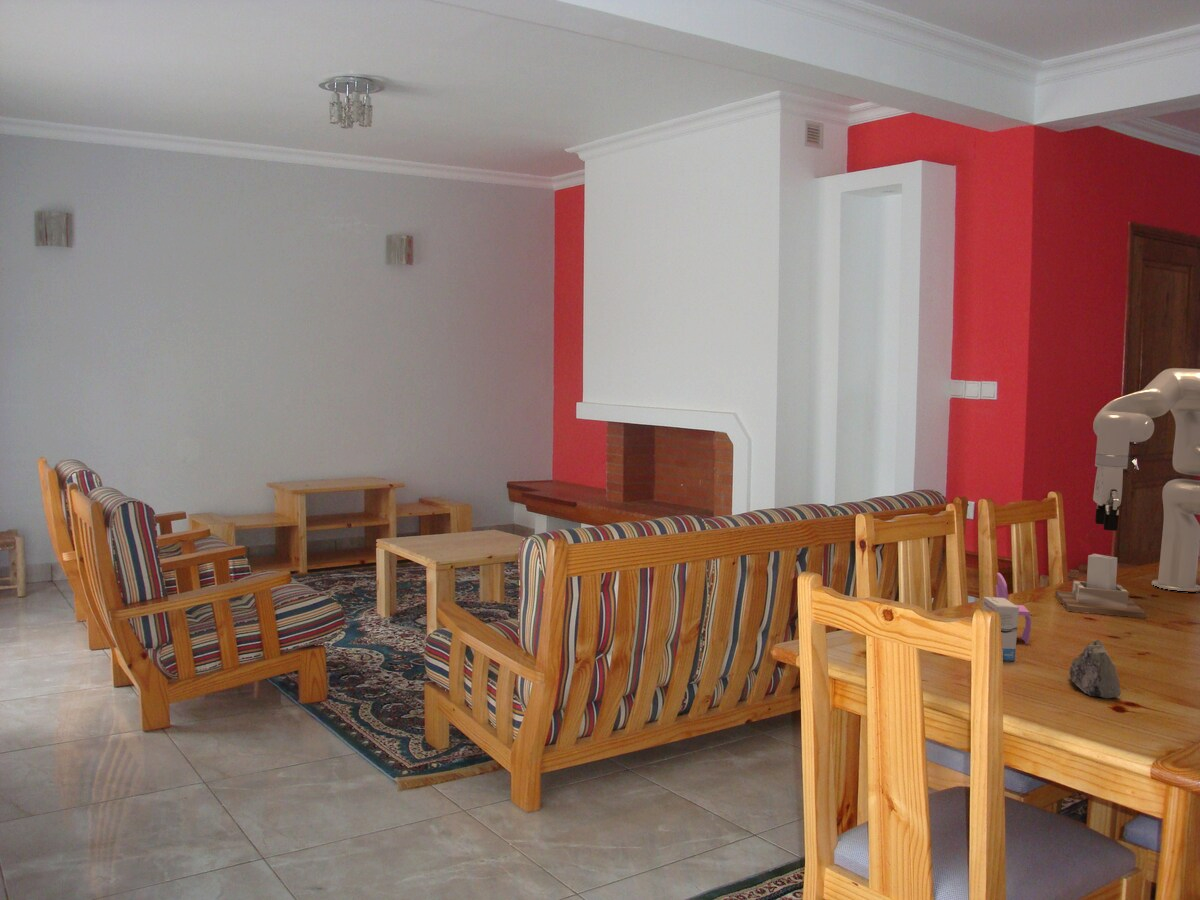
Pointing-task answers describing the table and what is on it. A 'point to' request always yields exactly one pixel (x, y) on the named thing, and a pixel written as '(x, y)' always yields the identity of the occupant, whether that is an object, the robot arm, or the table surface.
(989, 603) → the ink box
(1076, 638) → the table surface
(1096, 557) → the skincare box
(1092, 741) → the table surface
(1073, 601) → the collar plate
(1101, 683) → the mineral rock
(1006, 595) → the toy chair
